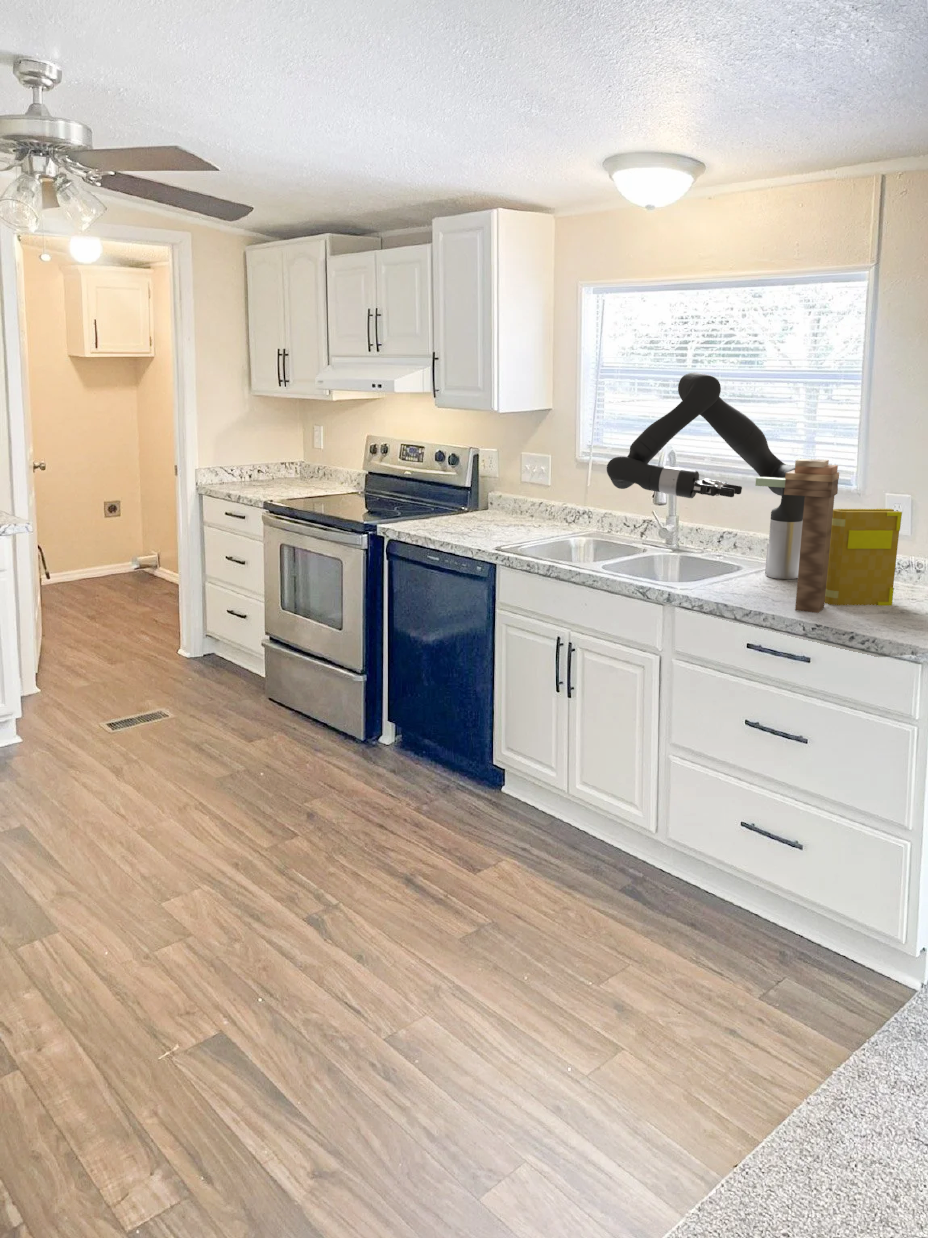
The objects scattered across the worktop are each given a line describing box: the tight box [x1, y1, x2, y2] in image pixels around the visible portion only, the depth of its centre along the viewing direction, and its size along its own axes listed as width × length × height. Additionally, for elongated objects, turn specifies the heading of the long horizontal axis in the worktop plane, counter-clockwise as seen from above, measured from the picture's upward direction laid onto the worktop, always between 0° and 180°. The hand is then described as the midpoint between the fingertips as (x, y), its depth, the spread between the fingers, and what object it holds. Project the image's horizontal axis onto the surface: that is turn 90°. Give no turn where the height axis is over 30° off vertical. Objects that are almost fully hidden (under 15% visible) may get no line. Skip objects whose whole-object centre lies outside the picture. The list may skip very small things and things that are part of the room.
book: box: [825, 508, 903, 607], centre depth 278 cm, size 17×7×25 cm, turn 92°
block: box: [754, 476, 786, 488], centre depth 269 cm, size 18×4×2 cm, turn 61°
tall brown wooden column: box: [784, 458, 840, 614], centre depth 270 cm, size 12×9×39 cm
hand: (737, 491), depth 277 cm, fingers open, 8 cm apart
